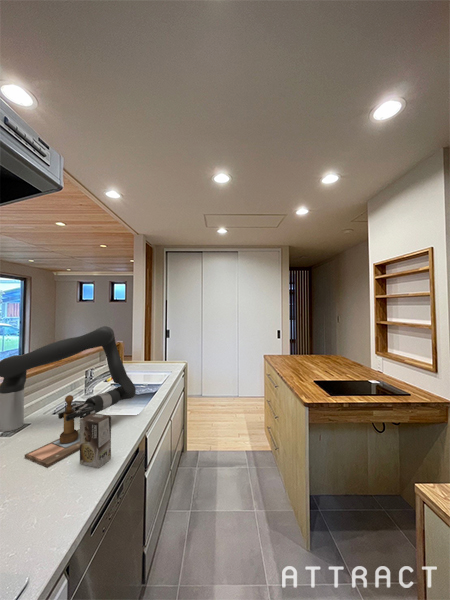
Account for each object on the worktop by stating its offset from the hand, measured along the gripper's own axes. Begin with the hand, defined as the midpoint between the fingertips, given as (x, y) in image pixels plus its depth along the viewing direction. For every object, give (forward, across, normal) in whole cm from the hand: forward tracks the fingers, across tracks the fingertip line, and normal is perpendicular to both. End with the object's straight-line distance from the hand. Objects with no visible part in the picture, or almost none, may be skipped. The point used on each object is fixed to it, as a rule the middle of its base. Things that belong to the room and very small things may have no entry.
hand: (62, 417), depth 107 cm
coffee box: (+1, +20, +12) cm, 24 cm away
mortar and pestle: (-3, 0, +10) cm, 11 cm away
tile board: (-3, +1, +12) cm, 12 cm away
